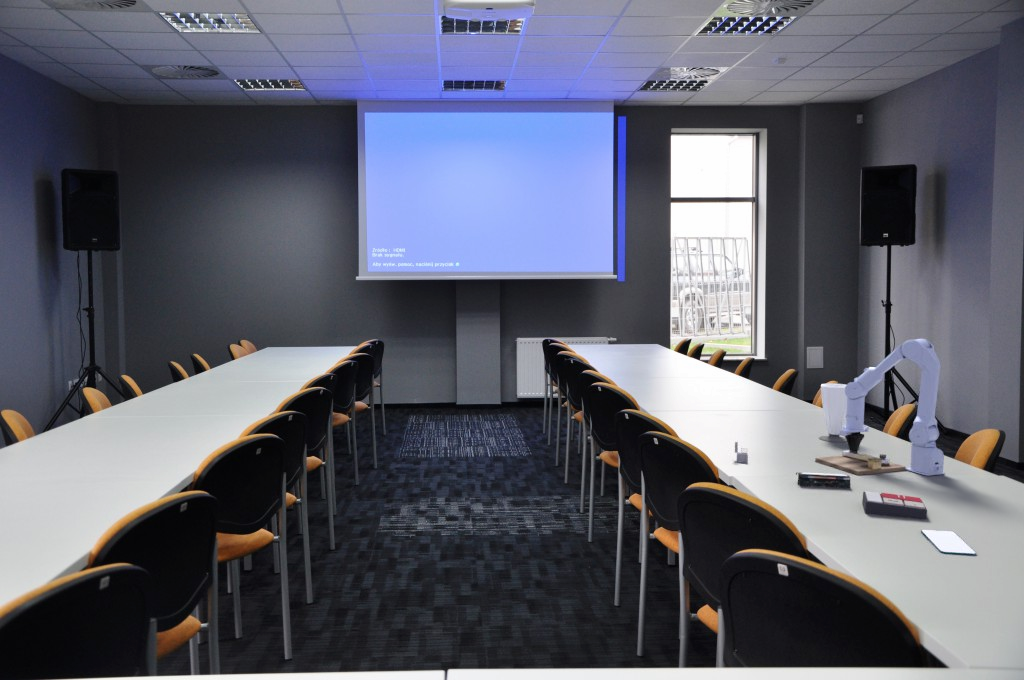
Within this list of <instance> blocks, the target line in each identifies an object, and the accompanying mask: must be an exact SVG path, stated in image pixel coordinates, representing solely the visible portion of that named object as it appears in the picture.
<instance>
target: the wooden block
mask: <svg viewBox="0 0 1024 680" xmlns="http://www.w3.org/2000/svg"><path fill="white" fill-rule="evenodd" d="M874 456H875V455H870V454H867V453H863V454H860V455H857V458H860V459H863V460H867V461H868V468H869V469H881V458H878V457H879V456H876V457H874Z"/></svg>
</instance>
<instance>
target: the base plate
mask: <svg viewBox="0 0 1024 680" xmlns="http://www.w3.org/2000/svg"><path fill="white" fill-rule="evenodd" d="M878 457H879V458H881V459H886V458H887V454H883V453H880V454H879V456H878ZM814 459H815V461H814V462H816V463H819V464H823V465H826V466H829V467H831V468H834V469H838V470H841V471H845V472H846V473H851V474H854V475H856V476H864V475H871V474H872V475H873V474H882V473H884V474H885V473H889V472H890V473H893V472H901V471H903V472H904V471H907V470H906V468H907V467H906V466H904V465H901V464H897V463H894V462H891V461H890V465H881V469H869V468H868V461H864V460H860V459H856V458H852V457H848V456H843V455H842V454H841V455H834V456H823V457H821V456H820V457H815V458H814Z"/></svg>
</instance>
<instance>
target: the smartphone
mask: <svg viewBox="0 0 1024 680" xmlns="http://www.w3.org/2000/svg"><path fill="white" fill-rule="evenodd" d="M920 534H921V535H922V536H923V537H924V538H925V539H926V540H927V541H928V542H929V543H930V544H931V545H933V547H934V549H936V550H937V551H938V552H939V553H941V554H945V555H962V556H971V557H972V556H974V557H975V556H976V555H977V552H976V551H975V550H974V549H973V548H972V547H971V546H970V545H969V544H968V543H967V542H966V541H965V540H963V539H962V538H961V537H960V536H959V535H958V534H957V532H955V531H952V530H941V529H940V530H937V529H921V530H920Z"/></svg>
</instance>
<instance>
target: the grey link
mask: <svg viewBox="0 0 1024 680" xmlns="http://www.w3.org/2000/svg"><path fill="white" fill-rule="evenodd" d="M860 454H864V453H863V452H862V453H861V452H859V451H857V452H854V451H850V450H849V449H845V450H842V451H841V456H842V455H843V456H848V457H852V458H856V459H860V458H857V455H860ZM873 456H874V457H878V458H879V457H880V456H875V455H873ZM860 460H863V459H860ZM864 461H867V460H864ZM890 462H891V460H890V459H889V458H888V457H886V459H881V465H890Z"/></svg>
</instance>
